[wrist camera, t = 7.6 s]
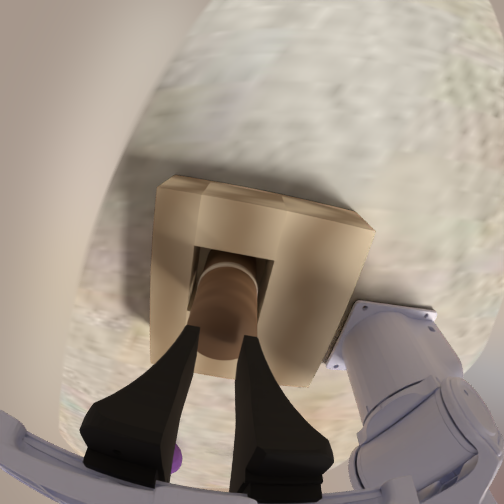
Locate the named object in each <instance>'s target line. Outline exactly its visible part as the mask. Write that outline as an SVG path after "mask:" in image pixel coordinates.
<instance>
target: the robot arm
mask: <svg viewBox="0 0 504 504" xmlns="http://www.w3.org/2000/svg"><path fill="white" fill-rule="evenodd" d="M363 306H366V307H365V308H363ZM425 314H426V315H425ZM436 317H437V312H436V311H435V310H428V309H420V308H413V307H405V306H398V305H391V304H383V303H376V302H369V301H363V300H358V301H356V302H355V303H354V305H353V307H352V309H351V312H350V314H349V316H348V318H347V320H346V323H345V325H344V327H343V329H342V331H341V333H340V336H339V338H338V340H337V342H336V344H335V346H334V348H333V350H332V352H331V354H330V356H329V358H328V360H327V362H326V368H327V369H334V370H347V373H348V376H349V380H350V383H351V386H352V389H353V393H354V396H355V400H356V403H357V406H358V410H359V413H360V417H361V420H362V424H363V428H362V429H361V430H360V431H359V432H358V433H357V438H358V442H359V446H357V447H356V448H355V449H354V450H353V451H352V453H351V455H350V458H349V465H348V470H349V477H350V481H351V484H352V487H353V489H354V490H353V491H346V492H336V493H325V494H322V492H321V484H322V482H323V477H322V474H324V473H325V472H326V471H327V470H328V469H329V468H330V467H331V466H332V464H333V463H334V457H333V452H332V449H331V446H330V443H329V440H328V439H326V438H325V437H324V436H323V435H321V434H320V433H319V432H318V431H316V430H315V429H314V428H313V427H312V426H311V425H310V424H309V423H308V422H307V421H306V420H305V419H304V418H303V417H302V416H301V415H300V413H299V412H298V411H297V410H296V409H295V408H294V407H293V405H292V404H291V403H290V401H289V400H288V399H287V397H286V396H285V394H284V393H283V391H282V390H281V388H280V386H279V385H278V383H277V381H276V379H275V378H274V376H273V374H272V372H271V370H270V368H269V365H268V363H267V361H266V359H265V356H264V354H263V351H262V348H261V345H260V342H259V339H258V337H255V336H248V335H244V338H243V342H242V345H241V349H240V353H239V357H238V361H237V367H236V376H235V413H236V428H235V440H234V451H233V461H232V471H231V480H230V488H229V492H221V491H213V490H205V489H199V488H192V487H187V486H181V485H176V484H171V483H170V476H171V469H172V463H173V456H174V450H175V444H176V438H177V433H178V427H179V422H180V417H181V413H182V410H183V406H184V403H185V400H186V397H187V393H188V390H189V387H190V384H191V380H192V377H193V373H194V368H195V363H196V358H197V349H198V341H199V333H200V327H197V326H192V325H186V326H185V327H184V329H183V330H182V332H181V334H180V335H179V336H178V338H177V339H176V341H175V342H174V343H173V344H172V346H171V347H170V348H169V349H168V350H167V352H166V353H165V354H164V355H163V356H162V357H161V358H160V359H159V360H158V361H157V362H156V363H155V364H154V365H153V366H152V367H151V368H150V369H149V370H147V371H146V372H145V373H144V374H143V375H141V376H140V377H139V378H137V379H136V380H135V381H133V382H132V383H130V384H129V385H127V386H126V387H124V388H123V389H121V390H119V391H117V392H116V393H114V394H112V395H110V396H108V397H106V398H104V399H102V400H100V401H97V402H95V403H94V404H93V405H92V406H91V408H90V409H89V411H88V412H87V414H86V416H85V417H84V420H83V422H82V425H81V427H80V434H81V436H82V438H83V439H84V441H85V443H86V445H87V447H88V448H87V451H86V454H85V456H84V457H81V456H79V455H76V454H74V453H71V452H69V451H67V450H65V449H63V448H60V447H58V446H56V445H54V444H52V443H50V442H48V441H45V440H43V439H41V438H40V437H38V436H36V435H34V434H32V433H30V432H28V431H27V430H26V428H25V427H24V425H23V424H22V423H21V422H20V421H18V420H17V419H16V418H14V417H12V416H11V415H9V414H7V413H5V412H4V411H2V410H0V468H1V469H2V470H3V471H5V472H6V473H8V474H9V475H11V476H12V477H14V478H16V479H17V480H19V481H20V482H22V483H24V484H25V485H27V486H29V487H30V488H32V489H34V490H36V491H37V492H39V493H41V494H43V495H44V496H46V497H48V498H50V499H52V500H54V501H56V502H58V503H59V504H498V503H497V502H496V500H495V499H494V497H493V495H492V494H491V492H490V490H489V489H488V488H489V486H490V485H491V483H492V481H493V479H494V477H495V475H496V473H497V471H498V470H499V467H500V465H501V463H502V461H503V457H504V439H503V436H502V434H501V432H500V431H499V429H498V427H497V426H496V424H495V422H494V419H493V417H492V415H491V412H490V411H489V409H488V407H487V405H486V404H485V403H484V401H483V399H482V398H481V397H480V395H479V394H478V393H477V391H476V390H475V389H474V388H473V387H472V386H471V385H470V384H469V383H468V382H467V381H466V380H464V379H463V368H462V364H461V361H460V359H459V357H458V356H457V354H456V353H455V351H454V350H453V348H452V347H451V345H450V344H449V342H448V341H447V340H446V338H445V337H444V335H443V334H442V332H441V331H440V330H439V328H438V327H437V325H436V324H435V323H434V321H435V319H436Z"/></svg>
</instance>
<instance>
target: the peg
mask: <svg viewBox="0 0 504 504" xmlns="http://www.w3.org/2000/svg"><path fill="white" fill-rule="evenodd" d="M257 296H258V286H257V268H256V257H253V256H248V255H242V254H237V253H231V252H226V251H221V250H215V249H211V250H210V252H209V254H208V257H207V260H206V263H205V266H204V269H203V273H202V275H201V277H200V279H199V283H198V287H197V292H196V295H195V298H194V301H193V305H192V308H191V311H190V315H189V318H188V321H187V325H192V326H197V327H200V333H199V341H198V349H197V352H199V353H200V354H202V355H204V356H206V357H208V358H211V359H215V360H234V359H238V357H239V353H240V349H241V345H242V342H243V338H244V335H248V336H255V337H257Z"/></svg>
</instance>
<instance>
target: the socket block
mask: <svg viewBox="0 0 504 504" xmlns="http://www.w3.org/2000/svg"><path fill="white" fill-rule="evenodd" d="M375 232H376V231H375V230H374V229H373V228H372V227H371V226H370V225H369V224H368V223H367V222H366V221H365V220H364V219H363V218H362V217H361V216H360V215H359V214H358V213H356V212H355V211H351V210H347V209H343V208H339V207H335V206H330V205H326V204H322V203H318V202H314V201H309V200H305V199H300V198H296V197H291V196H287V195H282V194H277V193H273V192H268V191H263V190H258V189H253V188H248V187H242V186H237V185H232V184H226V183H221V182H215V181H210V180H204V179H198V178H192V177H185V176H179V175H174V176H172V177H171V178H169V179H168V180H167V181H165V182H164V183H162V184H161V185H159V186H158V187H157V192H156V201H155V212H154V224H153V237H152V254H151V276H150V360H151V363H152V364H155V363H156V362H157V361H158V360H159V359H160V358H161V357H162V356H163V355H164V354H165V353H166V352H167V350H168V349H169V348H170V347H171V346H172V344H173V343H174V342H175V341H176V339H177V338H178V336H179V335H180V334H181V332H182V330H183V329H184V327H185V326H186V325H187V321H188V318H189V315H190V311H191V308H192V305H193V301H194V298H195V295H196V292H197V287H198V283H199V279H200V277H201V275H202V273H203V269H204V266H205V263H206V260H207V257H208V254H209V252H210V250H211V249H215V250H221V251H226V252H231V253H237V254H242V255H248V256H253V257H256V268H257V286H258V296H257V337H258V339H259V342H260V345H261V348H262V351H263V354H264V356H265V359H266V361H267V363H268V365H269V368H270V370H271V372H272V374H273V376H274V378H275V379H276V381H277V383H278V385H283V386H294V387H307V388H308V387H309V385H310V383H311V381H312V380H313V378H314V376H315V374H316V372H317V370H318V368H319V366H320V364H321V362H322V360H323V358H324V356H325V354H326V351H327V349H328V347H329V345H330V343H331V341H332V339H333V337H334V334H335V332H336V330H337V328H338V326H339V323H340V321H341V319H342V317H343V314H344V312H345V310H346V307H347V305H348V303H349V300H350V298H351V296H352V293H353V291H354V288H355V286H356V283H357V281H358V278H359V276H360V273H361V271H362V268H363V265H364V263H365V260H366V257H367V255H368V252H369V249H370V247H371V244H372V241H373V238H374V235H375ZM237 361H238V359H234V360H215V359H211V358H208V357H206V356H204V355H202V354H200V353H199V352H197V358H196V363H195V368H194V373H198V374H204V375H209V376H215V377H221V378H227V379H234V380H235V376H236V367H237Z"/></svg>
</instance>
